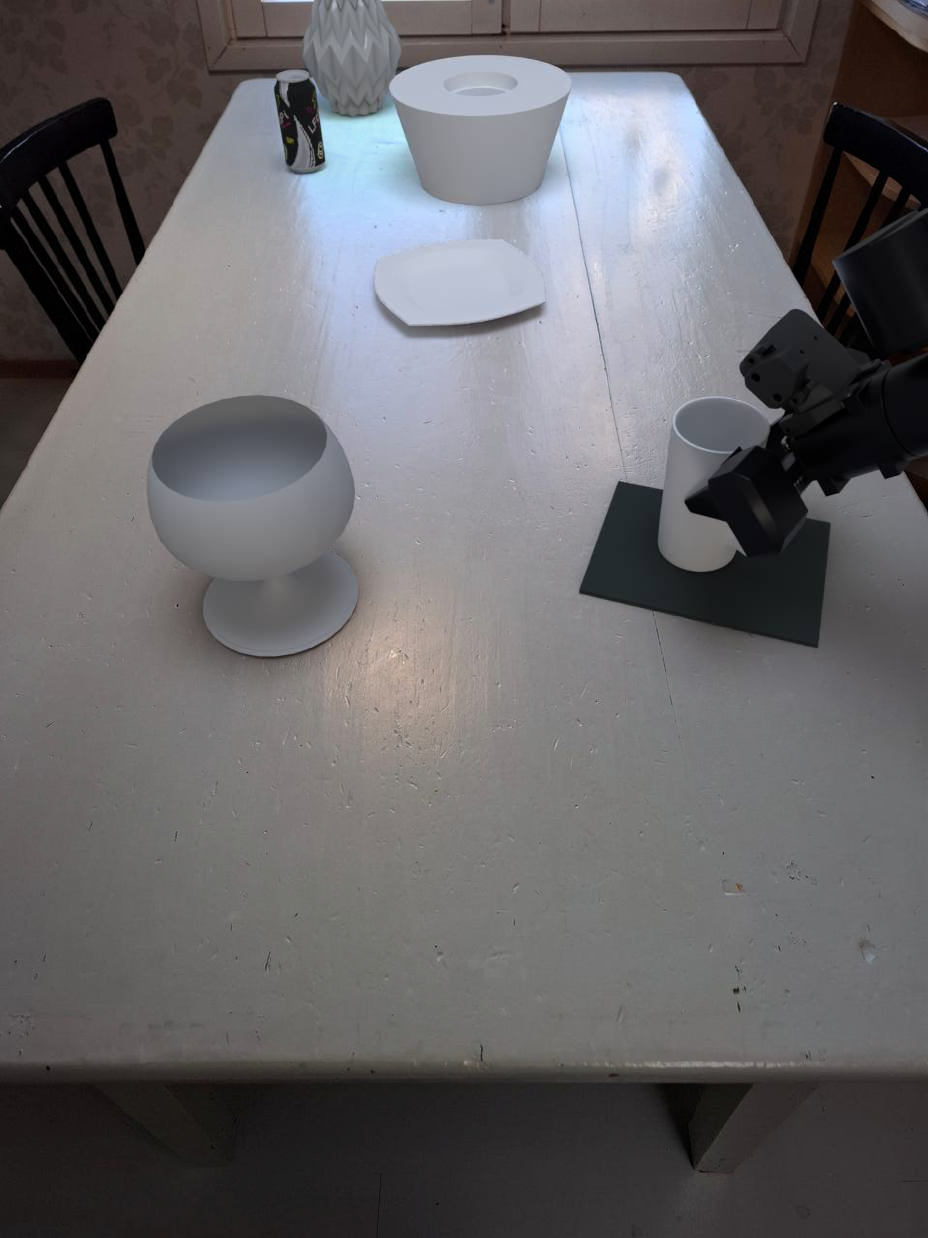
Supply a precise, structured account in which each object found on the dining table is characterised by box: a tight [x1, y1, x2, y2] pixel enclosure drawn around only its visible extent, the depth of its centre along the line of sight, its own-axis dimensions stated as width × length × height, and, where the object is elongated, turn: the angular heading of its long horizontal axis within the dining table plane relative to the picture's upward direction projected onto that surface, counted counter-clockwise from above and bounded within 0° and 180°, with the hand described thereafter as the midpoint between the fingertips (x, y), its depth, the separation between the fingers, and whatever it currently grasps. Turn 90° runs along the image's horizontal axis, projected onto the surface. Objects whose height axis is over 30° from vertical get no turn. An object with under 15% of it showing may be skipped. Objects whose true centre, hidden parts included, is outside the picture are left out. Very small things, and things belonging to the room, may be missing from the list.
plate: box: [373, 238, 547, 327], centre depth 98 cm, size 19×19×2 cm
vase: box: [299, 0, 403, 117], centre depth 134 cm, size 16×16×18 cm
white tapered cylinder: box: [389, 54, 573, 206], centre depth 116 cm, size 24×24×12 cm
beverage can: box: [273, 69, 326, 174], centre depth 121 cm, size 6×6×12 cm
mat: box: [578, 480, 832, 649], centre depth 69 cm, size 18×14×1 cm
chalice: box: [146, 394, 360, 657], centre depth 62 cm, size 14×14×15 cm
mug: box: [658, 395, 770, 572], centre depth 64 cm, size 10×7×12 cm, turn 36°
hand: (710, 482), depth 65 cm, fingers closed on mug, 6 cm apart
